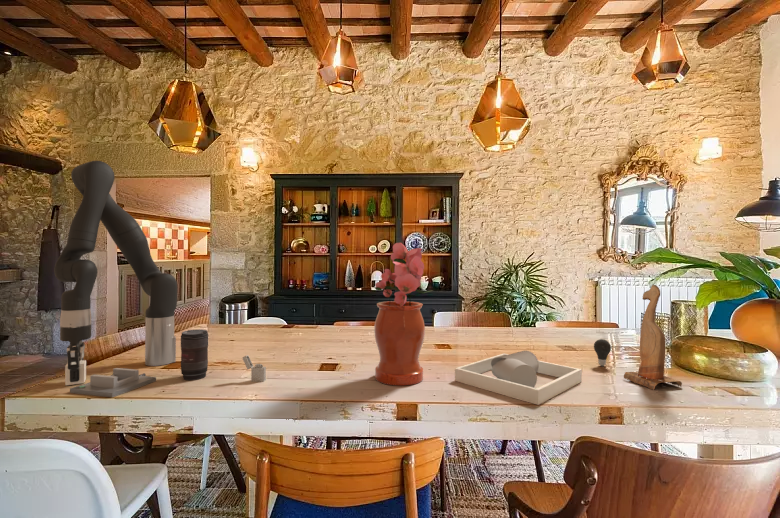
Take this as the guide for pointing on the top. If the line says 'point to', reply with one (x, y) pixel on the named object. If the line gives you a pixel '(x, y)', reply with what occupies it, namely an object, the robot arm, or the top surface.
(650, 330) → the bird sculpture
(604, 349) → the light bulb
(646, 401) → the top surface
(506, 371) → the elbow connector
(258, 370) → the lighter
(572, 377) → the roll tray
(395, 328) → the potted flower
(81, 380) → the charger block
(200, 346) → the camera lens
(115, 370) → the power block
